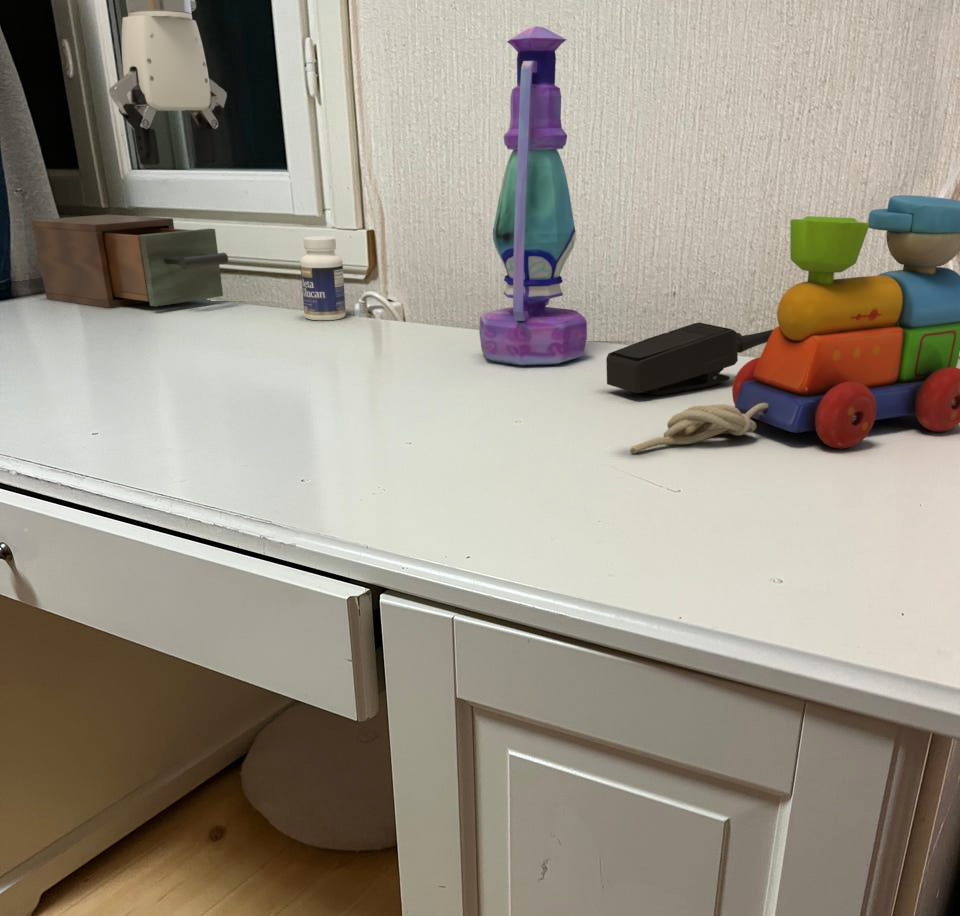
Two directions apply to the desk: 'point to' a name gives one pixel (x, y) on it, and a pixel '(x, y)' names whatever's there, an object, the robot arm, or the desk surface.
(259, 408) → the desk surface
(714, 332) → the walkie-talkie
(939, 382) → the toy train
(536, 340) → the lantern
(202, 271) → the drawer
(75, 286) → the cabinet
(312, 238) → the pill bottle
